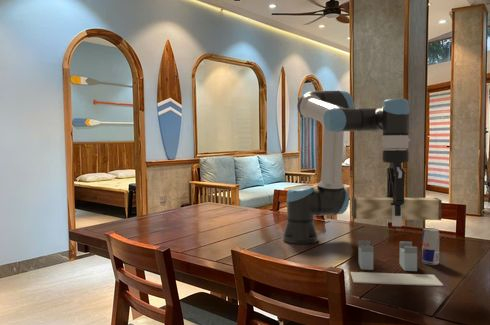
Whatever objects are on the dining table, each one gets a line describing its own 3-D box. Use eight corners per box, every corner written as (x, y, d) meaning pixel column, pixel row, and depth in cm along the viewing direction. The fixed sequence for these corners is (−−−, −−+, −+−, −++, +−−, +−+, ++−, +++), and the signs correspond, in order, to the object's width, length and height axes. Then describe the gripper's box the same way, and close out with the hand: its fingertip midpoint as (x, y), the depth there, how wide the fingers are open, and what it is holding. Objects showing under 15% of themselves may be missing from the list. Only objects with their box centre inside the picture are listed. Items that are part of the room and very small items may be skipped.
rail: (353, 218, 125) (353, 199, 125) (351, 215, 130) (351, 197, 130) (441, 220, 122) (441, 200, 121) (436, 216, 126) (436, 197, 126)
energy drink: (419, 261, 145) (419, 228, 145) (433, 260, 146) (434, 227, 145) (427, 265, 140) (427, 231, 139) (442, 265, 140) (442, 230, 140)
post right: (404, 270, 135) (404, 247, 134) (399, 263, 142) (399, 241, 142) (417, 271, 134) (417, 247, 134) (411, 264, 142) (411, 241, 141)
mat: (353, 282, 125) (353, 281, 125) (350, 273, 133) (350, 271, 133) (443, 286, 121) (443, 284, 121) (433, 276, 130) (433, 274, 129)
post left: (361, 269, 137) (361, 246, 137) (358, 262, 144) (358, 240, 144) (373, 269, 136) (373, 246, 136) (370, 263, 144) (370, 240, 143)
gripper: (416, 150, 115) (415, 230, 117) (401, 148, 133) (400, 218, 134) (388, 150, 116) (388, 230, 118) (377, 148, 134) (377, 218, 136)
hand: (394, 223), depth 126 cm, fingers closed on rail, 5 cm apart
